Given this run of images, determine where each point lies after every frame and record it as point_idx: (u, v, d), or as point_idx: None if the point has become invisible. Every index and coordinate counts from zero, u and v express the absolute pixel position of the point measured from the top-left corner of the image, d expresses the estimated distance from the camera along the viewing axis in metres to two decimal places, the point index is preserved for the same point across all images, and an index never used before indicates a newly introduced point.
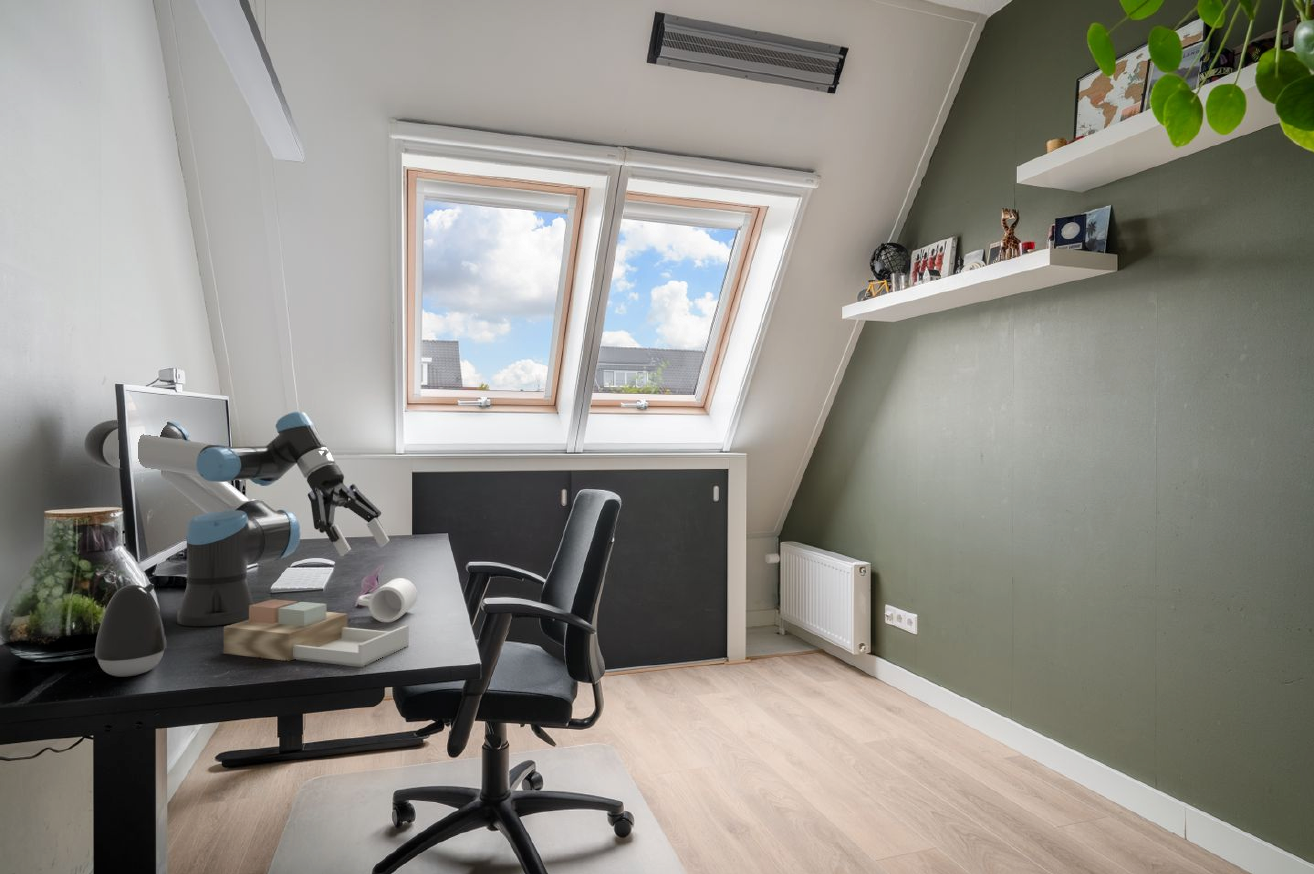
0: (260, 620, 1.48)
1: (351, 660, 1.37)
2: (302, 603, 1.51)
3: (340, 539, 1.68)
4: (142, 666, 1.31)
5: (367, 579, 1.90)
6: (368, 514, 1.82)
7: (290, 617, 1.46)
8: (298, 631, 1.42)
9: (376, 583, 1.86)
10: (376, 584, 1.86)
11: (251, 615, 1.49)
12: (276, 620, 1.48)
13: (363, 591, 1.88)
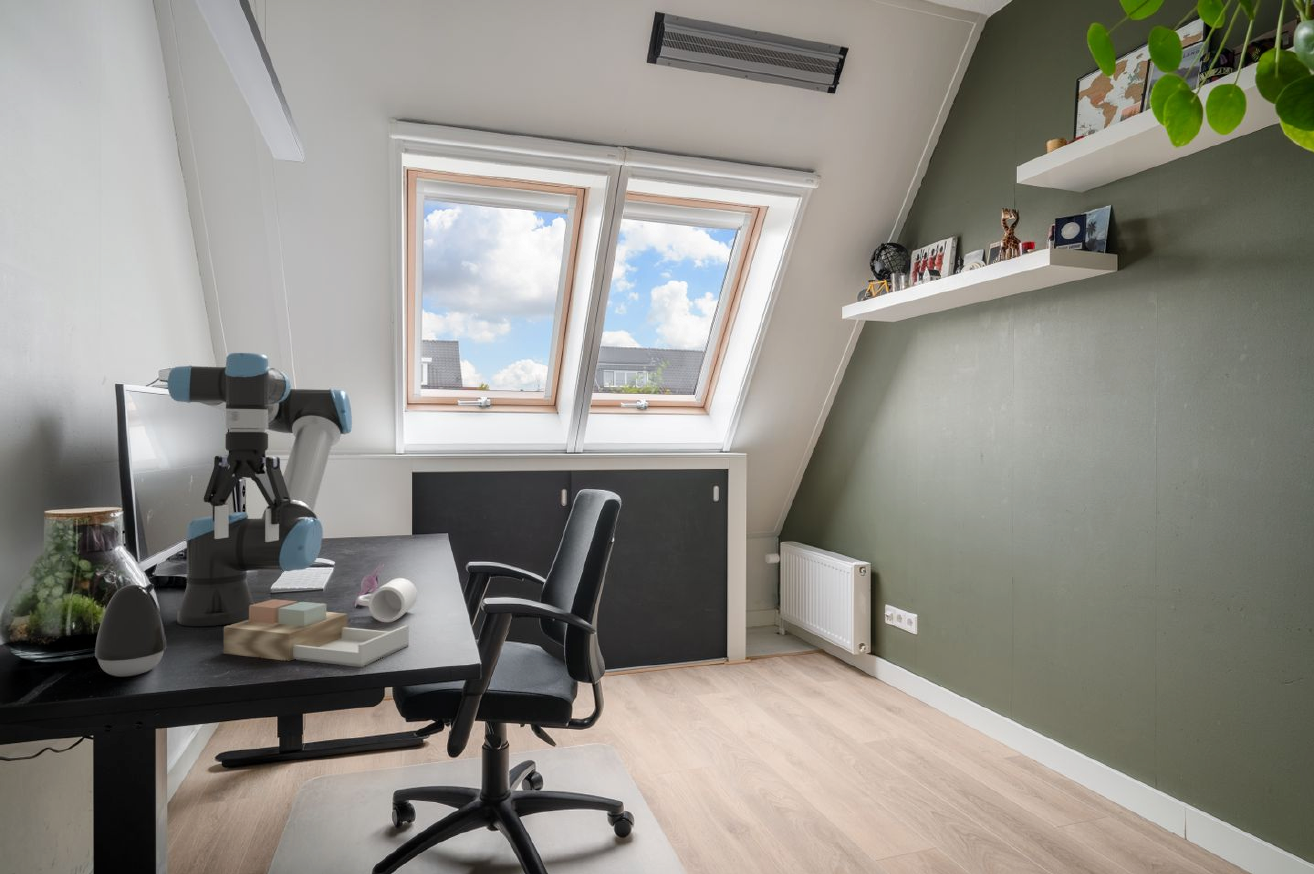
0: (260, 620, 1.48)
1: (351, 660, 1.37)
2: (302, 603, 1.51)
3: None
4: (142, 666, 1.31)
5: (366, 579, 1.90)
6: None
7: (290, 617, 1.46)
8: (298, 631, 1.42)
9: (376, 583, 1.86)
10: (376, 584, 1.86)
11: (251, 615, 1.49)
12: (276, 620, 1.48)
13: (362, 591, 1.88)
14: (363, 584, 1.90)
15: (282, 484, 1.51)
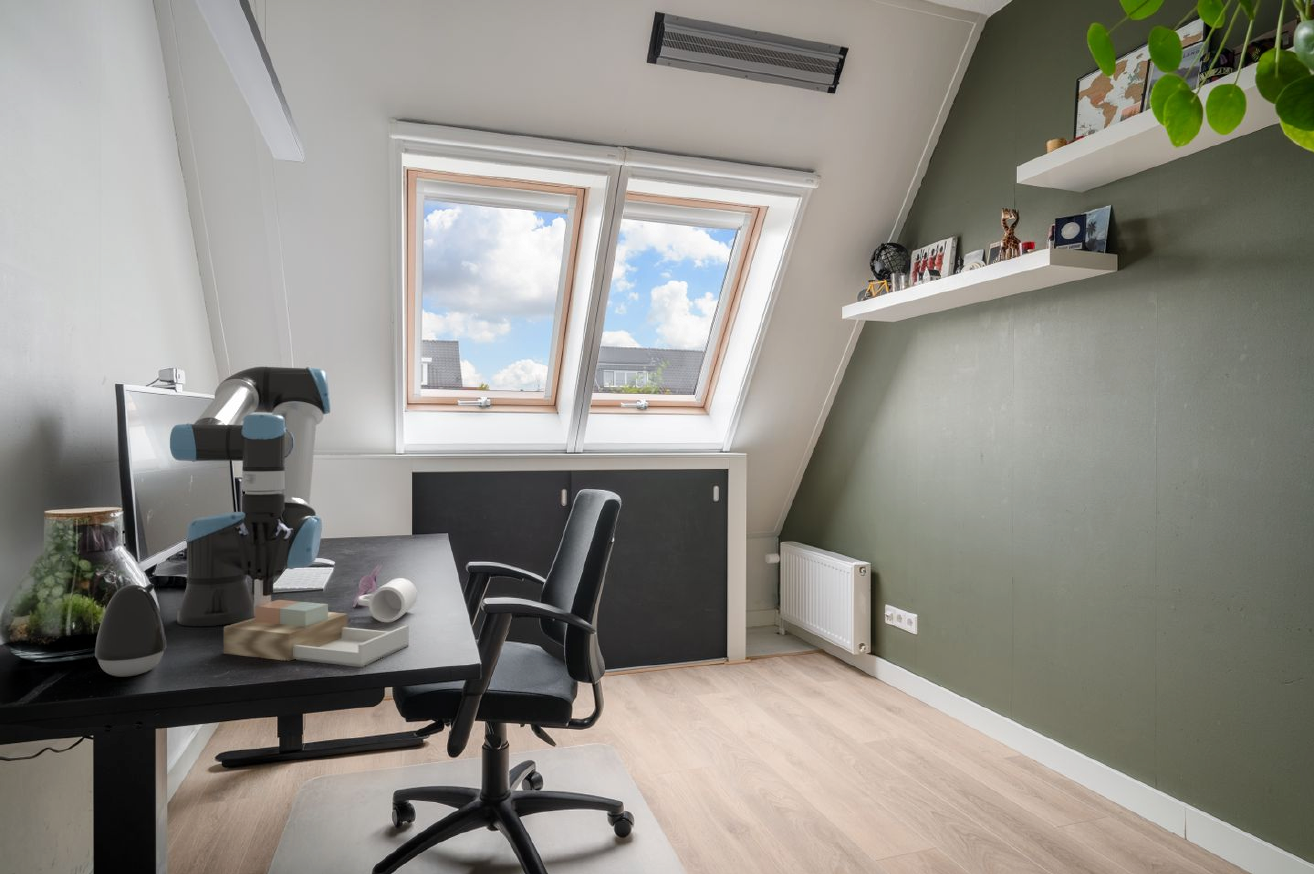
0: (266, 621, 1.48)
1: (351, 660, 1.37)
2: (304, 603, 1.51)
3: None
4: (142, 666, 1.31)
5: (365, 579, 1.90)
6: None
7: (291, 617, 1.46)
8: (298, 631, 1.42)
9: (374, 583, 1.86)
10: (374, 584, 1.86)
11: (257, 616, 1.48)
12: None
13: (361, 592, 1.88)
14: (361, 584, 1.89)
15: (282, 557, 1.50)
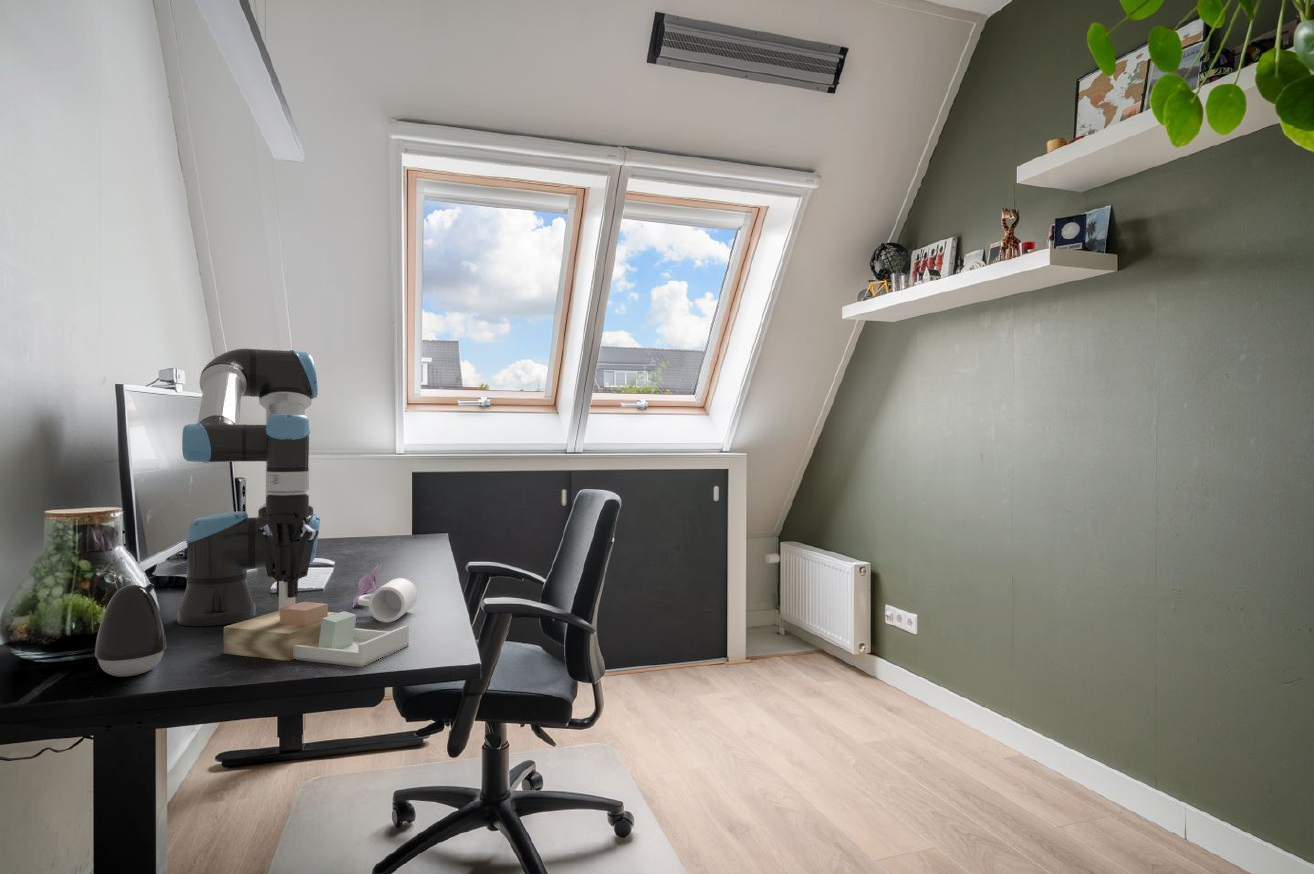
0: (291, 623, 1.46)
1: (351, 660, 1.37)
2: (351, 622, 1.48)
3: None
4: (142, 666, 1.31)
5: (364, 580, 1.89)
6: None
7: (326, 634, 1.44)
8: (298, 631, 1.42)
9: (374, 584, 1.85)
10: (373, 585, 1.86)
11: (282, 618, 1.47)
12: (307, 623, 1.46)
13: (360, 592, 1.88)
14: (361, 584, 1.89)
15: (307, 558, 1.49)
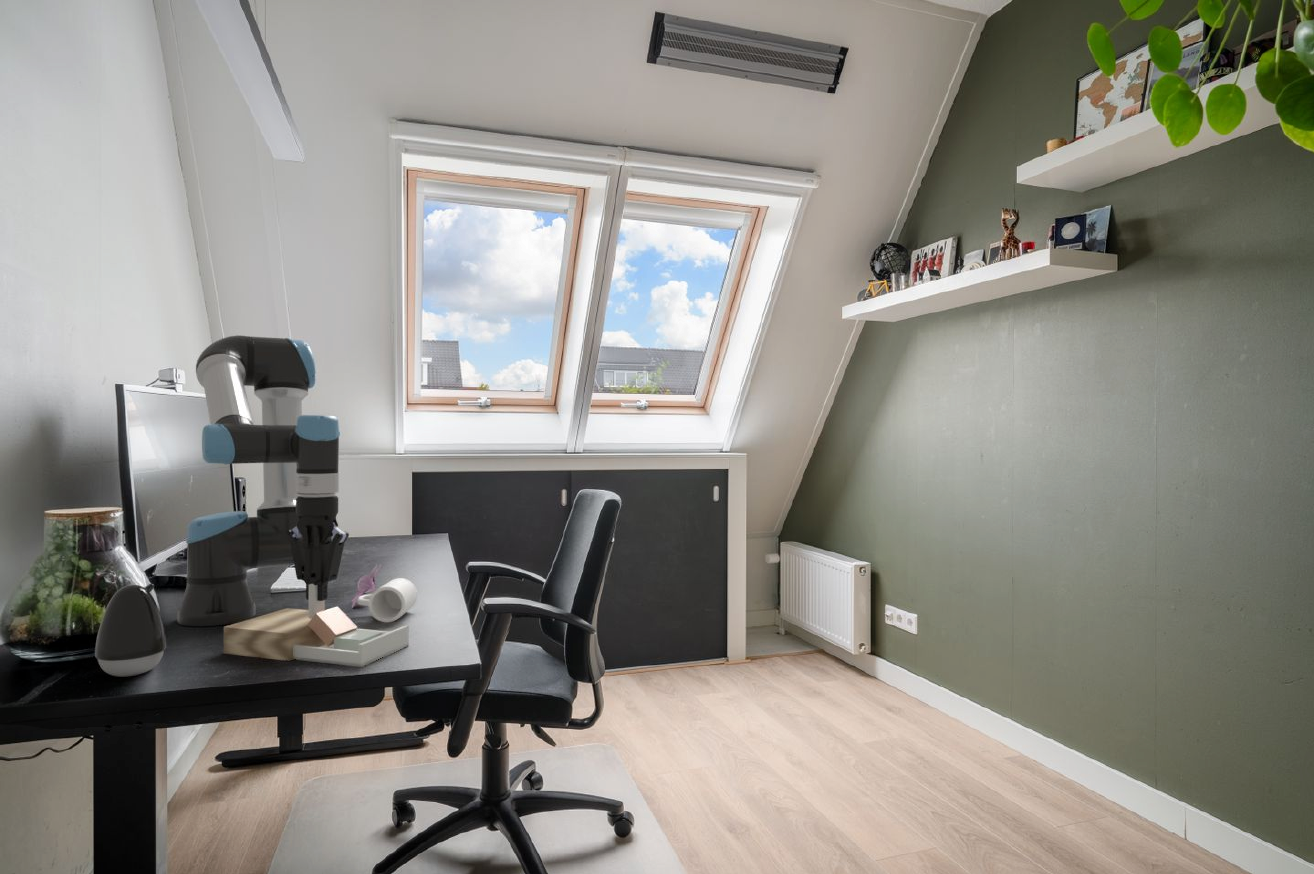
0: (317, 633, 1.44)
1: (351, 660, 1.37)
2: None
3: None
4: (142, 666, 1.31)
5: (363, 580, 1.89)
6: None
7: (348, 646, 1.42)
8: (298, 631, 1.42)
9: (373, 584, 1.85)
10: (373, 585, 1.85)
11: (312, 622, 1.45)
12: (331, 643, 1.44)
13: (359, 592, 1.87)
14: (360, 585, 1.89)
15: (337, 561, 1.47)
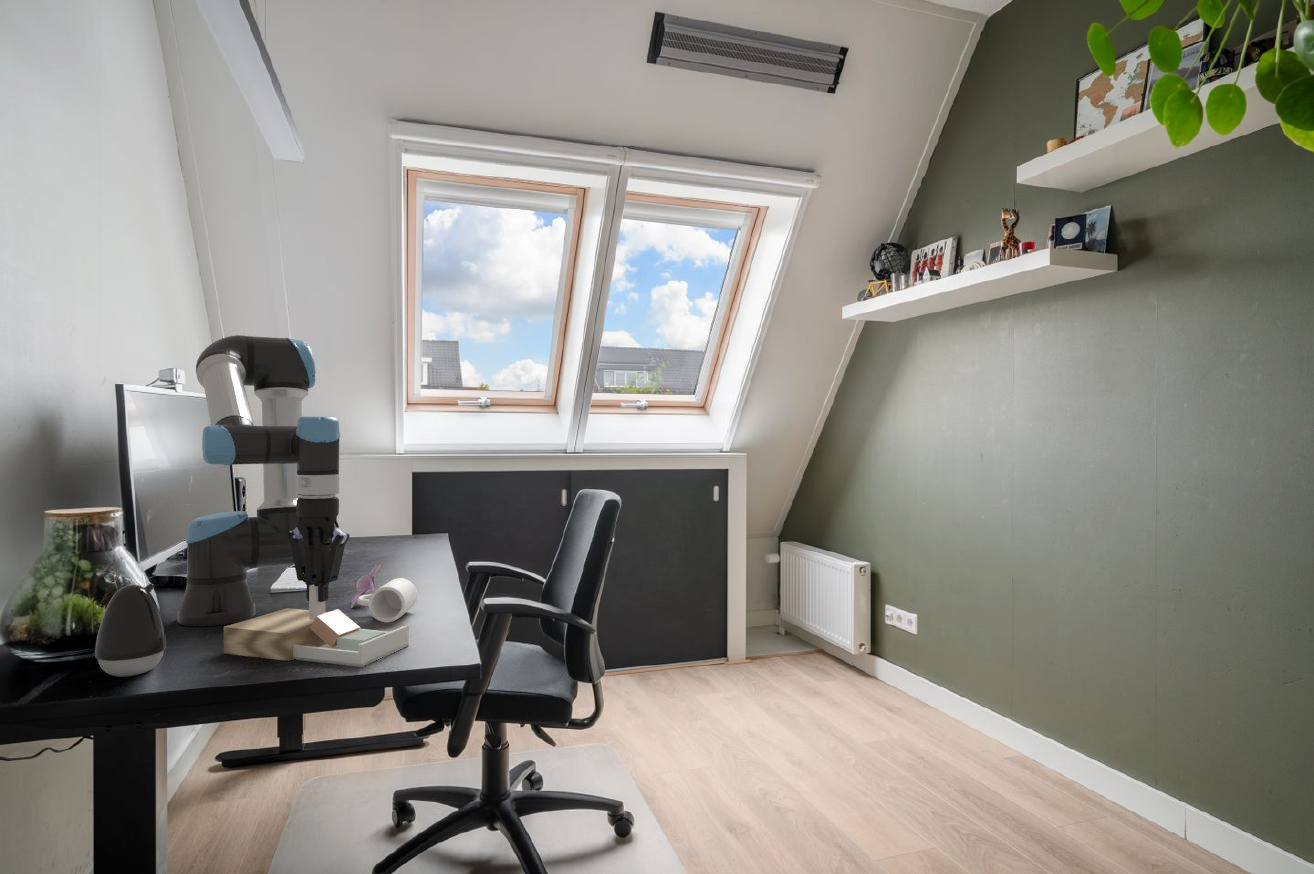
0: (320, 636, 1.44)
1: (351, 660, 1.37)
2: None
3: None
4: (142, 666, 1.31)
5: (362, 580, 1.89)
6: None
7: (351, 647, 1.42)
8: (298, 631, 1.42)
9: (372, 584, 1.85)
10: (372, 585, 1.85)
11: (314, 625, 1.45)
12: (335, 644, 1.44)
13: (358, 592, 1.87)
14: (359, 585, 1.88)
15: (338, 562, 1.47)
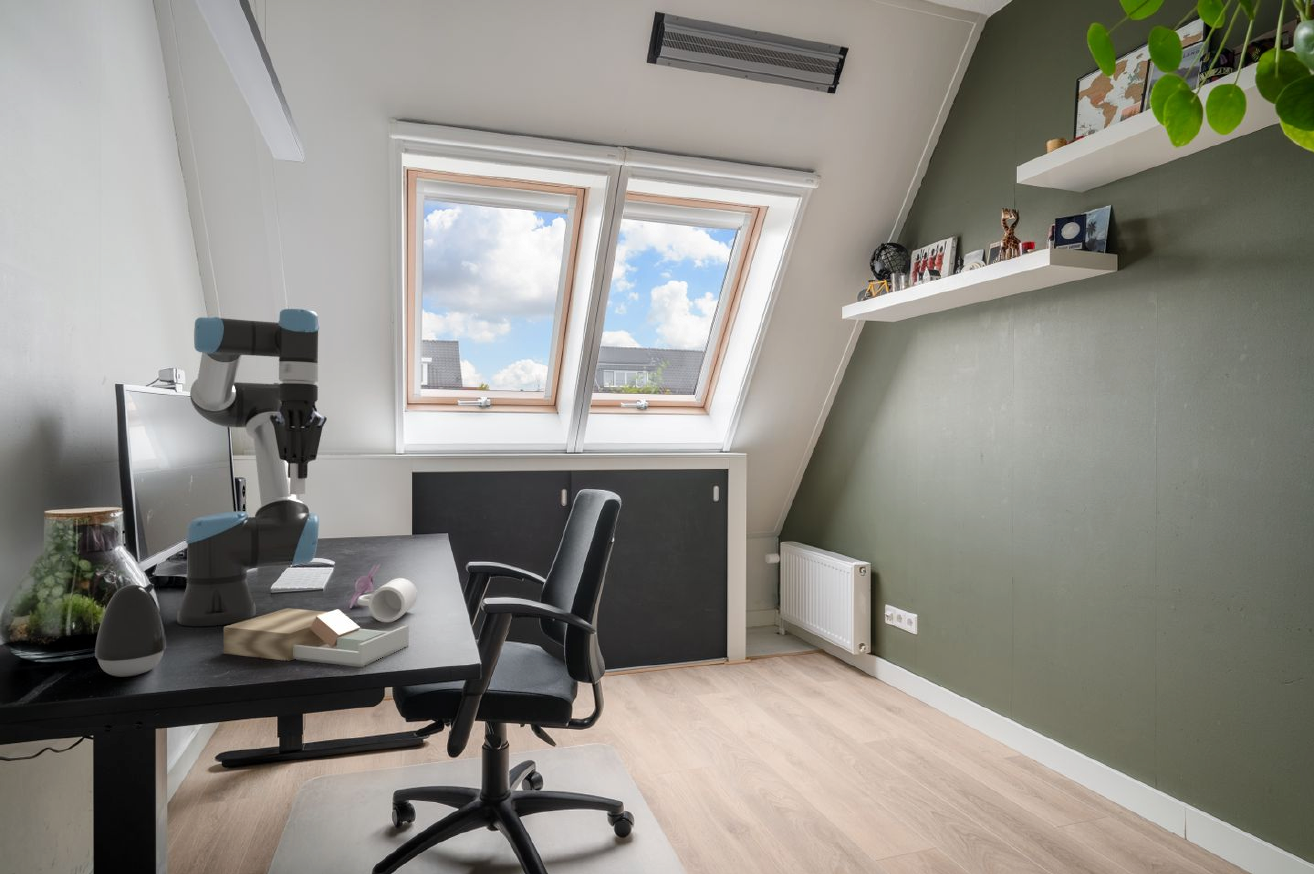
0: (320, 636, 1.44)
1: (351, 660, 1.37)
2: None
3: None
4: (142, 666, 1.31)
5: (361, 580, 1.88)
6: None
7: (351, 647, 1.42)
8: (298, 631, 1.42)
9: (371, 584, 1.85)
10: (371, 585, 1.85)
11: (314, 625, 1.45)
12: (335, 644, 1.44)
13: (357, 592, 1.87)
14: (357, 585, 1.88)
15: (316, 443, 1.62)
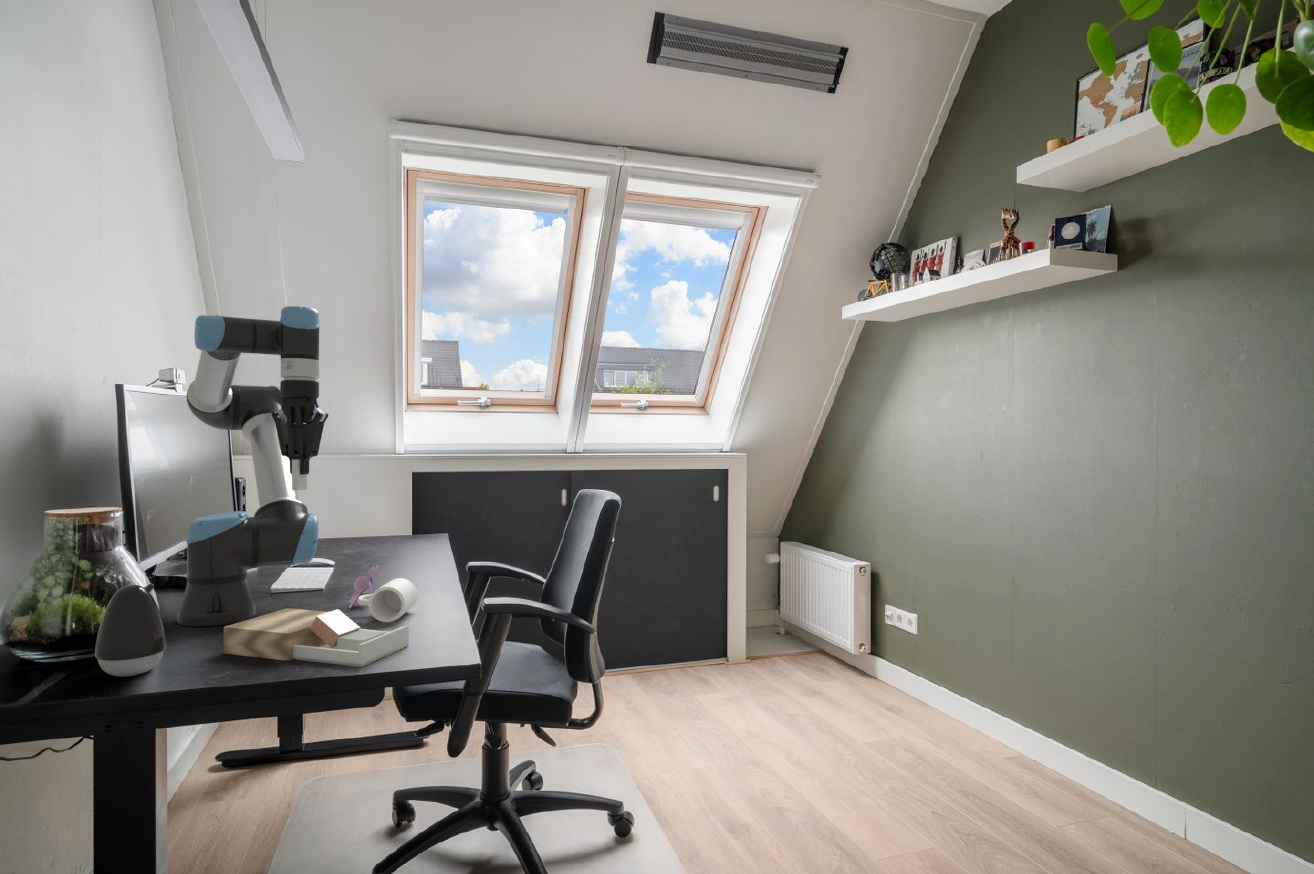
0: (320, 636, 1.44)
1: (351, 660, 1.37)
2: None
3: None
4: (142, 666, 1.31)
5: (360, 580, 1.88)
6: None
7: (351, 647, 1.42)
8: (298, 631, 1.42)
9: (370, 584, 1.85)
10: (370, 585, 1.85)
11: (314, 625, 1.45)
12: (335, 644, 1.44)
13: (356, 593, 1.87)
14: (356, 585, 1.88)
15: (318, 438, 1.63)
